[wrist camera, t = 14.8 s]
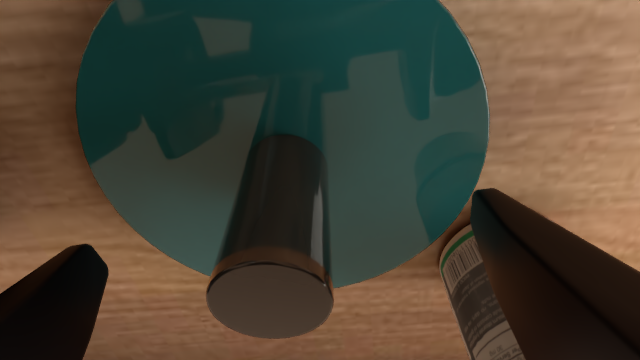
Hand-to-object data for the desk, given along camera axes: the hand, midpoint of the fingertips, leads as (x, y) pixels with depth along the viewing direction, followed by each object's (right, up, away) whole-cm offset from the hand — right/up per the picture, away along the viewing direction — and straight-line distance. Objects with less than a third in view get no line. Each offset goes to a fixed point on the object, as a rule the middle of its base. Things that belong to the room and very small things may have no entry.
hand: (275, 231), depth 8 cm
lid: (0, +2, +2) cm, 3 cm away
